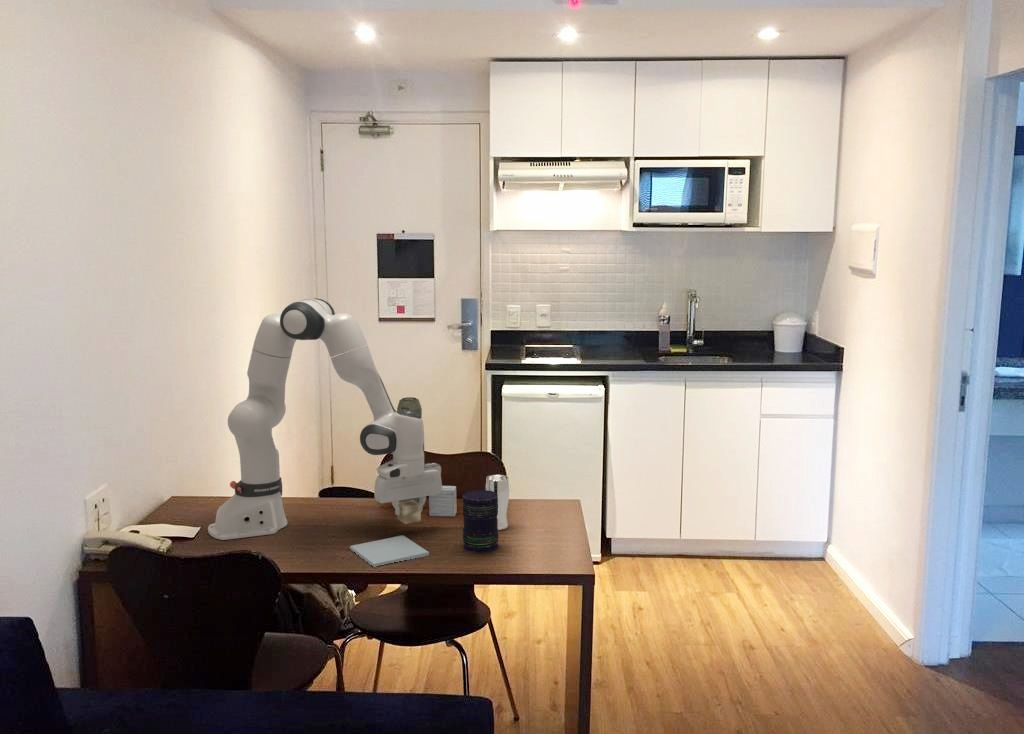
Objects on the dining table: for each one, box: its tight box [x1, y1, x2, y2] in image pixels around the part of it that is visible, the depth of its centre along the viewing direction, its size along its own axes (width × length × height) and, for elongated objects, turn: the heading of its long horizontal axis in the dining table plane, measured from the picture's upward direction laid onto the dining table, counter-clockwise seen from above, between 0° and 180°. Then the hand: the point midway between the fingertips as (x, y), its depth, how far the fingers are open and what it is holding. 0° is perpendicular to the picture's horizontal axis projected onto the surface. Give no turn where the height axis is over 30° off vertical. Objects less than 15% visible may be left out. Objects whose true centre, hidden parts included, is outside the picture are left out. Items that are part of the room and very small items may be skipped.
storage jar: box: [462, 489, 499, 554], centre depth 243 cm, size 10×10×15 cm
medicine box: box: [428, 485, 458, 517], centre depth 272 cm, size 8×4×9 cm, turn 84°
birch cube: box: [396, 500, 422, 525], centre depth 255 cm, size 5×5×5 cm
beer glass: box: [485, 474, 510, 531], centre depth 260 cm, size 7×7×15 cm
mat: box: [349, 535, 430, 568], centre depth 240 cm, size 16×16×1 cm
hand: (408, 512), depth 255 cm, fingers closed on birch cube, 5 cm apart
